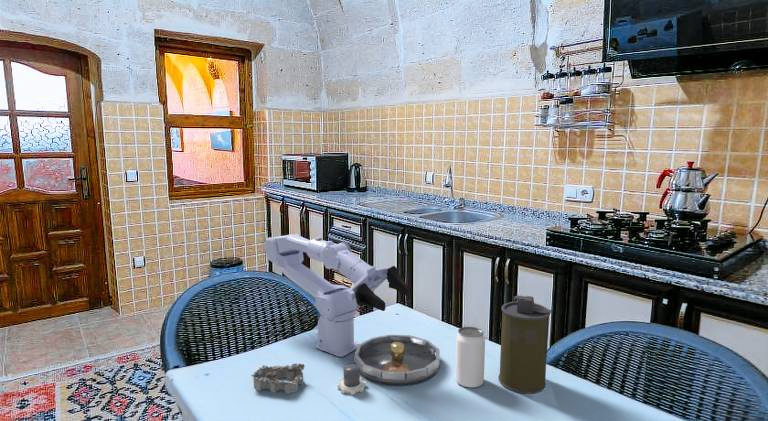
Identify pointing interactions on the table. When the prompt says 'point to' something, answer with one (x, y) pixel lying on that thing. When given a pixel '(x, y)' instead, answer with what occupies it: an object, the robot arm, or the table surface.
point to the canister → (524, 345)
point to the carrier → (397, 360)
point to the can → (470, 357)
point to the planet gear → (351, 380)
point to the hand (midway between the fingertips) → (396, 299)
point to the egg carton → (278, 372)
